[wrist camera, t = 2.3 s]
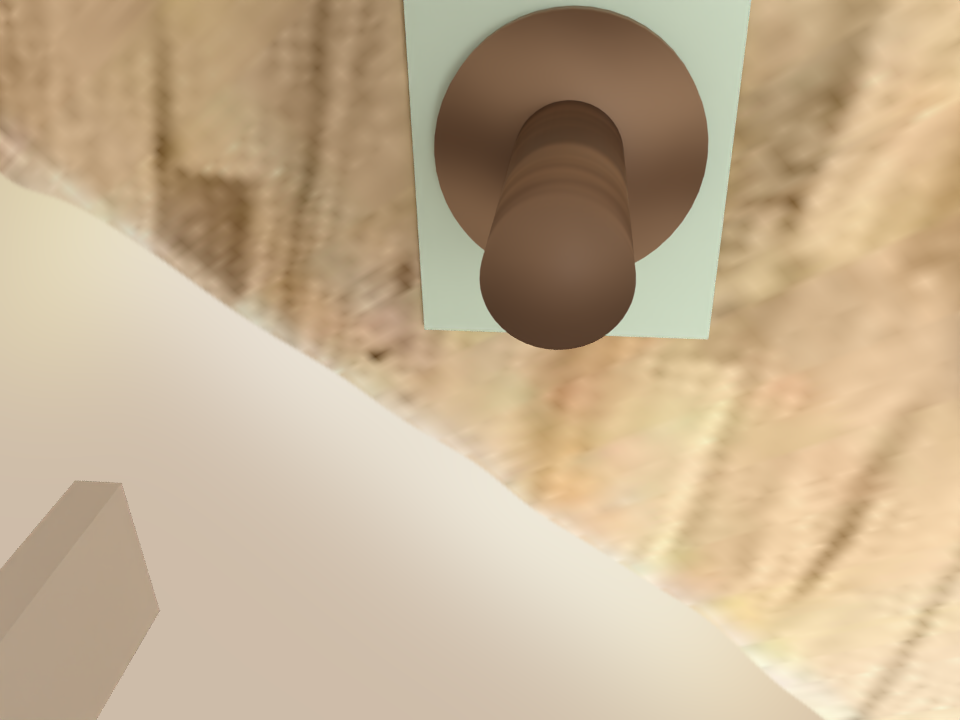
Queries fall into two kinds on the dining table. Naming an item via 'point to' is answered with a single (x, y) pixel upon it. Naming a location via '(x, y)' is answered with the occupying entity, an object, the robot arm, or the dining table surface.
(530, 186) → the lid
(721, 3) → the mat
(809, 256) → the dining table surface
